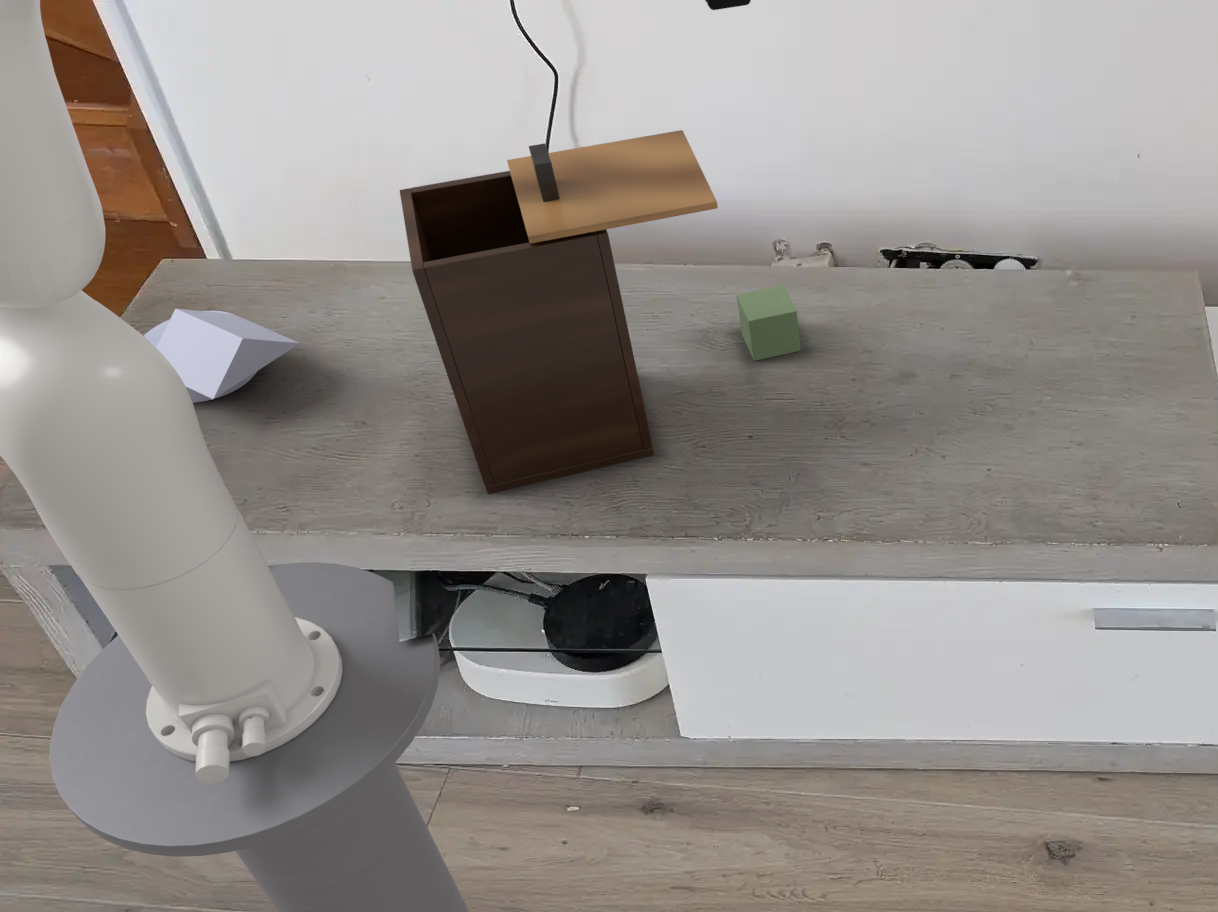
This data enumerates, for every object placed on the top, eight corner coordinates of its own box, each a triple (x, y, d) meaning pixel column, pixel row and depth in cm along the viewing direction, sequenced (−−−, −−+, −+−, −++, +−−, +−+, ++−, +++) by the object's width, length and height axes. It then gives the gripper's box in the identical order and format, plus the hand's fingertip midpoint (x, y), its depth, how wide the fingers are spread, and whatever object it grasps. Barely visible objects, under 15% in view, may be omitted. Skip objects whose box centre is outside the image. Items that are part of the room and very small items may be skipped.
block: (800, 351, 121) (796, 310, 118) (753, 361, 120) (748, 321, 117) (787, 324, 124) (783, 284, 121) (741, 334, 123) (736, 294, 120)
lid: (718, 208, 98) (711, 164, 95) (529, 244, 94) (518, 198, 91) (683, 136, 105) (677, 93, 103) (508, 166, 102) (497, 123, 99)
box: (654, 455, 111) (608, 233, 96) (487, 494, 107) (412, 270, 92) (628, 374, 118) (581, 157, 103) (471, 409, 115) (399, 189, 100)
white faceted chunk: (313, 373, 118) (215, 330, 123) (286, 311, 113) (185, 268, 118) (228, 430, 113) (129, 382, 117) (196, 366, 108) (94, 319, 112)
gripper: (614, -299, 91) (657, -28, 104) (660, -239, 81) (701, 53, 94) (722, -309, 92) (751, -41, 105) (779, -252, 83) (803, 36, 96)
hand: (727, 2), depth 100 cm, fingers closed
